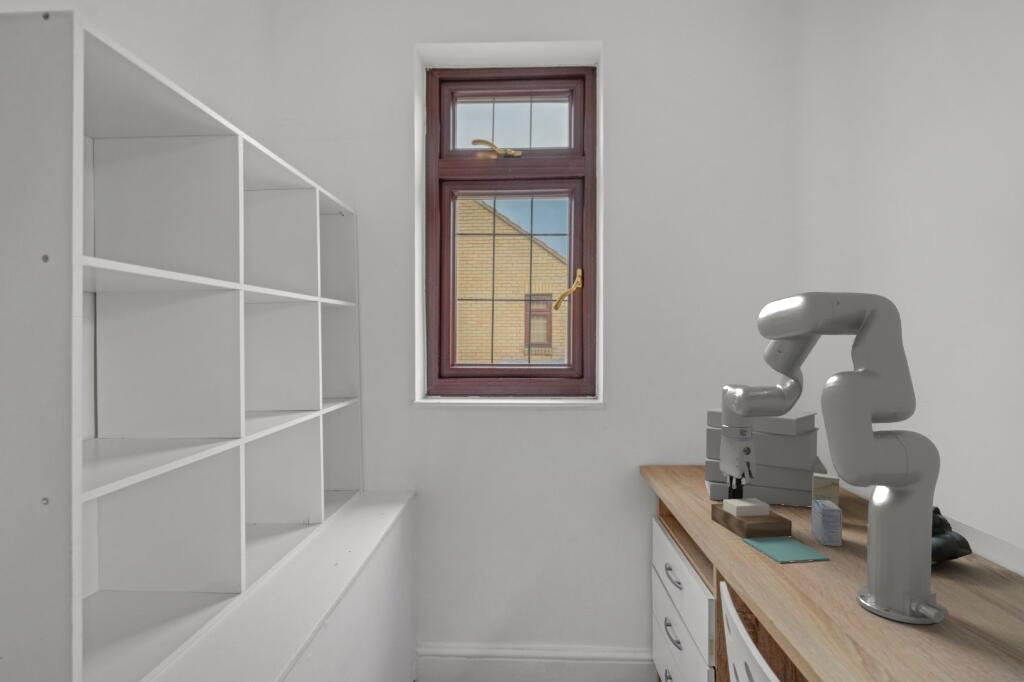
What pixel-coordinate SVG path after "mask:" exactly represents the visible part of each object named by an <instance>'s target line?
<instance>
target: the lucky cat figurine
mask: <svg viewBox="0 0 1024 682" xmlns="http://www.w3.org/2000/svg"><path fill="white" fill-rule="evenodd" d="M952 529H953V528H952V526H951V523H950V522H949V521H948V519H947V518H946V517H945V516H944V515H942V512H941V509H940V508H939V507H938V506H937V505H933V510H932V543H931V566H933V565H935V564H939V563H943V562H948V561H953V560H958V559H959V558H963V557H965V556H968V555H971V554H973V550H972V547H971V545H970V542H969V541H968V539H966V537H964V535H962V534H960V533H958V532H957V531H954V530H952Z"/></svg>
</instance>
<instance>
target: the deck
mask: <svg viewBox="0 0 1024 682" xmlns="http://www.w3.org/2000/svg"><path fill="white" fill-rule="evenodd" d="M710 508H711V521H713V522H715V523H717V524H719V525H720V526H721V527H724V528H725V529H727V530H729V531H730V532H732V533H734V534H736V536H738V537H740V538H742V539H746V538H764V537H782V536H793V535H792V531H793V528H792V527H793V526H792V525H793V520H791V519H788V518H786V517H785V516H783V515H780V514H779V513H777V512H774V511H772V510H770V509H769V515H757V516H738V517H736V516H734V515H732V514H731V513H729V512H727V511H725V510H723V503H711V507H710Z"/></svg>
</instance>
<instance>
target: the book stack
mask: <svg viewBox="0 0 1024 682" xmlns="http://www.w3.org/2000/svg"><path fill="white" fill-rule="evenodd" d="M706 414H707V416H706V417H707V419H706V425H707V427H706V449H705V451H706V453H705V460H704V484H705V487H706V491H707V495H708V498H709V500H710V501H719V500H727V499H728V487H730V486H728V485H727V478H726V477H725V476H724V475H723V472H722V471H721V469H720V446H721V439H722V437H721V424H722V407H717V408H711V409H707V413H706ZM816 415H818V413H817V412H814V411H813V412H811V411H801V410H792V409H791V410H790V411H789V412H788V413H786V414H785V415H782V416H778V417H753V419H752V439H751V440H753V443H754V449H755V463H756V476H755V478H749V479H750V484H745V486H744V488H743V499H749V498H756V499H758V500H760V501H762V502H764V503H767V504H769V505H772V504H784V505H783V506H785V505H799V506H812V489H813V473H820V474H828V470H827V468H826V466H825V465H824V463H823V462H822V460H821V459H820V456H819V455H818V431H819V430H820V427H817V426H816V425H815V421H816V419H815V418H816ZM799 506H798V507H799Z"/></svg>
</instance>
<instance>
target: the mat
mask: <svg viewBox="0 0 1024 682" xmlns="http://www.w3.org/2000/svg"><path fill="white" fill-rule="evenodd" d="M741 540H743V541H742V542H744V541H745V542H744V543H746V544H747V543H748V544H747V545H748V546H751V547H752V546H753V547H752V548H754V549H755V548H756V549H755V550H757V549H758V550H757V551H759V552H760V551H761V552H760V553H762V552H763V553H762V554H764V555H765V556H767V557H769V558H770V557H771V559H772V560H773V559H774V561H775V560H776V561H775V562H777V561H778V562H779V563H778V562H777V563H778V564H781V563H780V562H790V561H805V562H810V561H809V560H821V561H830V557H829V556H827V555H825V554H822V553H820V552H819V551H816V550H815V549H813V548H811V547H809V546H807V545H805V544H804V543H801V542H800V541H798V540H796V539H795V538H793V537H792V538H790V537H789V536H782V537H764V538H746V539H743V538H742V539H741ZM790 563H791V562H790Z"/></svg>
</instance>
